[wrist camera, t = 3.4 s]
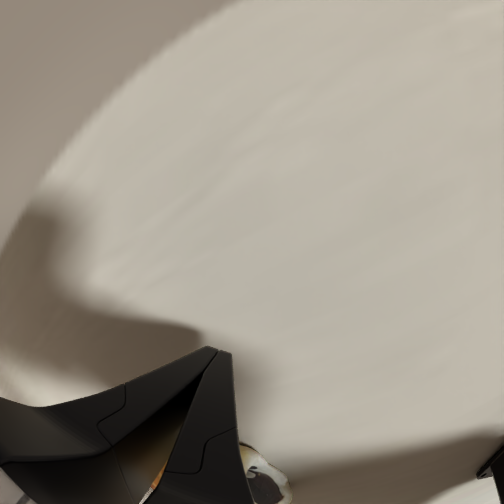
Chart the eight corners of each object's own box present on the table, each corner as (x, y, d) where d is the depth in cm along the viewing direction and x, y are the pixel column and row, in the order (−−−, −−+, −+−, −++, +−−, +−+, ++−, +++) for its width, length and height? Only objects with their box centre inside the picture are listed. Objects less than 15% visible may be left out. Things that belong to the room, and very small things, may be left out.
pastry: (189, 490, 16) (171, 527, 12) (128, 436, 15) (99, 474, 11) (304, 484, 13) (295, 536, 9) (244, 422, 12) (219, 486, 8)
